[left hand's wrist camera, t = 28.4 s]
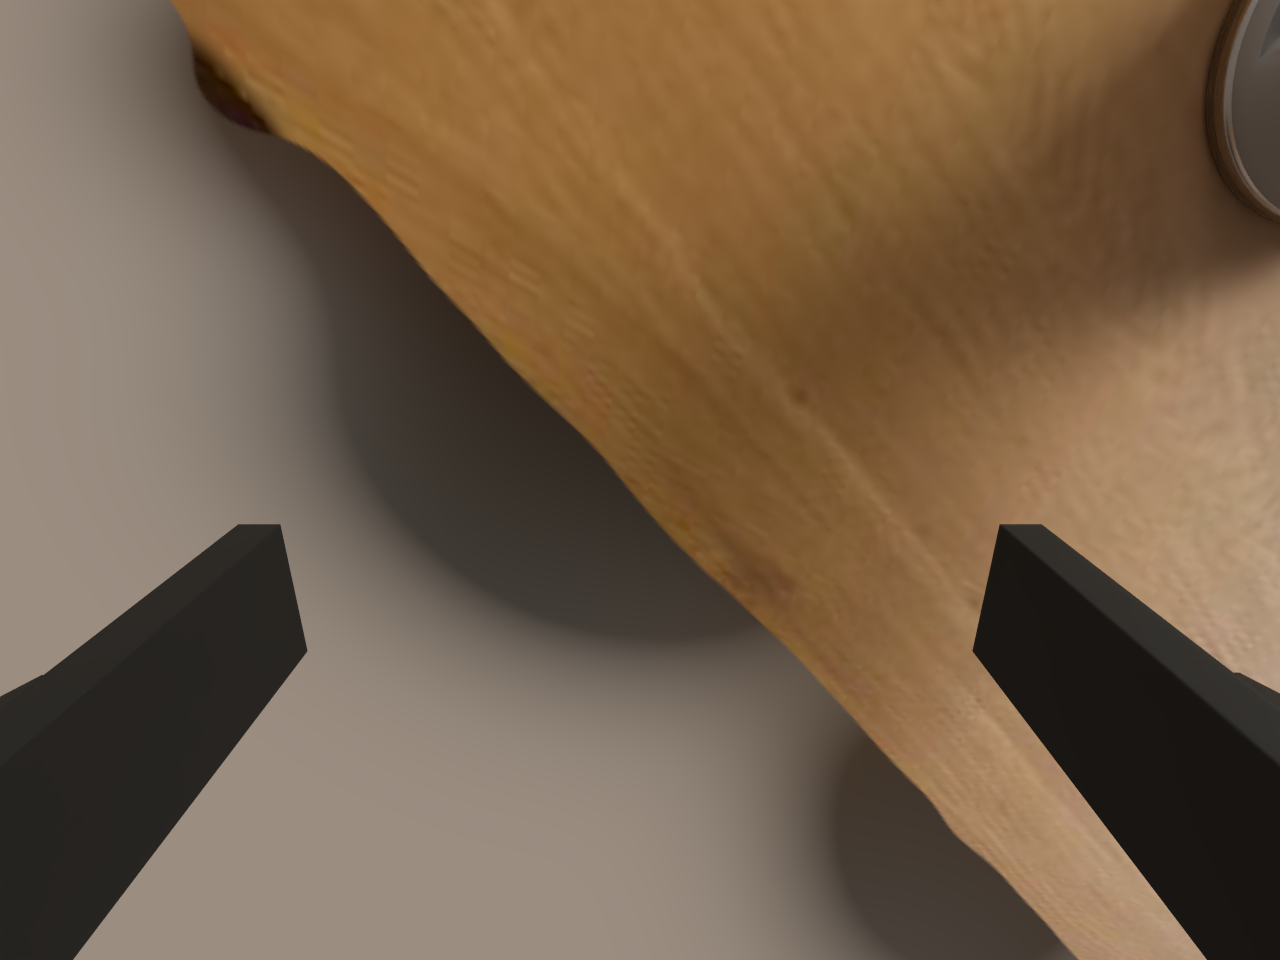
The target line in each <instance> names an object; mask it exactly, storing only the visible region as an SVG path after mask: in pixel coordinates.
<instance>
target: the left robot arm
mask: <svg viewBox="0 0 1280 960" xmlns="http://www.w3.org/2000/svg"><path fill="white" fill-rule="evenodd" d="M1206 123H1207V132H1208V138H1209V143H1210V148H1211V151H1212V154H1213V157H1214V160H1215V163H1216V165H1217V167H1218V170H1219V172H1220V174H1221V176H1222V178H1223V179H1224V181H1225V182H1226V184H1227V185H1228V187H1229V188H1230V189H1231V191H1232V192H1233V193H1234V194H1235V195H1236V196H1237V198H1238V199H1240V200H1241V201H1242V202H1243V203H1244V204H1245V205H1246V206H1247V207H1249V208H1250V209H1252V210H1253V211H1255V212H1256V213H1258V214H1259V215H1261V216H1263V217H1266V218H1268V219H1270V220H1272V221H1275V222H1278V223H1280V0H1235V2H1234V4H1233V6H1232V8H1231V10H1230V12H1229V14H1228V16H1227V19H1226V21H1225V23H1224V26H1223V28H1222V30H1221V33H1220V36H1219V39H1218V42H1217V45H1216V48H1215V51H1214V55H1213V59H1212V63H1211V67H1210V73H1209V79H1208V84H1207V96H1206ZM306 652H307V647H306V642H305V638H304V633H303V628H302V623H301V619H300V614H299V609H298V605H297V600H296V595H295V591H294V586H293V581H292V577H291V572H290V567H289V563H288V558H287V553H286V549H285V544H284V539H283V535H282V530H281V526H280V524H239V525H237V526H236V527H234V528H233V529H232V530H231V531H229V532H228V533H227V534H225V535H224V536H223V537H221V538H220V539H219V540H218V541H216V542H215V543H214V544H212V545H211V546H210V547H209V548H207V549H206V550H205V551H204V552H202V553H201V554H200V555H198V556H197V557H196V558H194V559H193V560H192V561H190V562H189V563H188V564H187V565H185V566H184V567H183V568H181V569H180V570H179V571H178V572H176V573H175V574H174V575H172V576H171V577H170V578H169V579H167V580H166V581H165V582H163V583H162V584H161V585H160V586H158V587H157V588H156V589H154V590H153V591H152V592H150V593H149V594H148V595H147V596H145V597H144V598H143V599H141V600H140V601H139V602H138V603H136V604H135V605H134V606H132V607H131V608H130V609H128V610H127V611H126V612H125V613H123V614H122V615H121V616H119V617H118V618H117V619H116V620H114V621H113V622H112V623H110V624H109V625H108V626H107V627H105V628H104V629H103V630H101V631H100V632H99V633H98V634H96V635H95V636H94V637H92V638H91V639H90V640H88V641H87V642H86V643H85V644H83V645H82V646H81V647H79V648H78V649H77V650H76V651H74V652H73V653H72V654H70V655H69V656H68V657H67V658H65V659H64V660H63V661H61V662H60V663H59V664H57V665H56V666H55V667H54V668H52V669H51V670H50V671H48V672H47V673H46V674H44V675H41V676H39V677H37V678H35V679H33V680H31V681H30V682H28V683H26V684H24V685H22V686H20V687H18V688H16V689H14V690H12V691H10V692H8V693H6V694H4V695H2V696H1V697H0V960H73V959H74V958H75V956H76V955H77V954H78V952H79V951H80V950H81V948H82V947H83V946H84V944H85V943H86V942H87V941H88V939H89V938H90V937H91V935H92V934H93V933H94V931H95V930H96V929H97V927H98V926H99V925H100V923H101V922H102V921H103V919H104V918H105V917H106V916H107V914H108V913H109V912H110V910H111V909H112V908H113V906H114V905H115V904H116V902H117V901H118V900H119V898H120V897H121V896H122V894H123V893H124V892H125V891H126V889H127V888H128V887H129V885H130V884H131V883H132V881H133V880H134V879H135V877H136V876H137V875H138V873H139V872H140V871H141V869H142V868H143V867H144V866H145V864H146V863H147V862H148V860H149V859H150V858H151V856H152V855H153V854H154V852H155V851H156V850H157V848H158V847H159V846H160V844H161V843H162V842H163V840H164V839H165V838H166V837H167V835H168V834H169V833H170V831H171V830H172V829H173V827H174V826H175V825H176V823H177V822H178V821H179V819H180V818H181V817H182V816H183V814H184V813H185V812H186V810H187V809H188V807H189V806H190V805H191V804H192V802H193V801H194V800H195V798H196V797H197V796H198V794H199V793H200V792H201V790H202V789H203V788H204V787H205V785H206V784H207V783H208V781H209V780H210V779H211V777H212V776H213V775H214V773H215V772H216V771H217V769H218V768H219V767H220V766H221V764H222V763H223V762H224V760H225V759H226V758H227V756H228V755H229V754H230V752H231V751H232V750H233V748H234V747H235V746H236V744H237V743H238V742H239V741H240V739H241V738H242V737H243V735H244V734H245V733H246V731H247V730H248V729H249V727H250V726H251V725H252V723H253V722H254V721H255V719H256V718H257V717H258V716H259V714H260V713H261V711H262V710H263V709H264V708H265V706H266V705H267V704H268V702H269V701H270V700H271V698H272V697H273V696H274V694H275V693H276V692H277V690H278V689H279V688H280V687H281V685H282V684H283V683H284V681H285V680H286V679H287V677H288V676H289V675H290V673H291V672H292V671H293V669H294V668H295V667H296V665H297V664H298V663H299V662H300V660H301V659H302V658H303V656H304V655H305V654H306ZM973 652H974V654H975V655H976V656H977V658H978V659H979V660H980V662H981V663H982V664H983V666H984V667H985V668H986V669H987V671H988V672H989V673H990V675H991V676H992V677H993V679H994V680H995V681H996V683H997V684H998V685H999V687H1000V688H1001V689H1002V691H1003V692H1004V693H1005V694H1006V696H1007V697H1008V698H1009V700H1010V701H1011V702H1012V704H1013V705H1014V706H1015V708H1016V709H1017V710H1018V712H1019V713H1020V714H1021V716H1022V717H1023V718H1024V719H1025V721H1026V722H1027V723H1028V725H1029V726H1030V727H1031V729H1032V730H1033V731H1034V733H1035V734H1036V735H1037V737H1038V738H1039V739H1040V741H1041V742H1042V743H1043V744H1044V746H1045V747H1046V748H1047V750H1048V751H1049V752H1050V754H1051V755H1052V756H1053V758H1054V759H1055V760H1056V762H1057V763H1058V764H1059V766H1060V767H1061V768H1062V769H1063V771H1064V772H1065V773H1066V775H1067V776H1068V777H1069V779H1070V780H1071V781H1072V783H1073V784H1074V785H1075V787H1076V788H1077V789H1078V791H1079V792H1080V793H1081V794H1082V796H1083V797H1084V798H1085V800H1086V801H1087V802H1088V804H1089V805H1090V806H1091V808H1092V809H1093V810H1094V812H1095V813H1096V814H1097V816H1098V817H1099V818H1100V819H1101V821H1102V822H1103V823H1104V825H1105V826H1106V827H1107V829H1108V830H1109V831H1110V833H1111V834H1112V835H1113V837H1114V838H1115V839H1116V841H1117V842H1118V843H1119V844H1120V846H1121V847H1122V848H1123V850H1124V851H1125V852H1126V854H1127V855H1128V856H1129V858H1130V859H1131V860H1132V862H1133V863H1134V864H1135V866H1136V867H1137V868H1138V869H1139V871H1140V872H1141V873H1142V875H1143V876H1144V877H1145V879H1146V880H1147V881H1148V883H1149V884H1150V885H1151V887H1152V888H1153V889H1154V891H1155V892H1156V893H1157V894H1158V896H1159V897H1160V898H1161V900H1162V901H1163V902H1164V904H1165V905H1166V906H1167V908H1168V909H1169V910H1170V912H1171V913H1172V914H1173V916H1174V917H1175V918H1176V919H1177V921H1178V922H1179V923H1180V925H1181V926H1182V927H1183V929H1184V930H1185V931H1186V933H1187V934H1188V935H1189V937H1190V938H1191V939H1192V941H1193V942H1194V943H1195V944H1196V946H1197V947H1198V948H1199V950H1200V951H1201V952H1202V954H1203V955H1204V956H1205V958H1206V959H1207V960H1280V693H1278V692H1276V691H1274V690H1272V689H1270V688H1268V687H1266V686H1264V685H1262V684H1260V683H1258V682H1256V681H1254V680H1252V679H1250V678H1249V677H1247V676H1245V675H1243V674H1241V673H1233V672H1232V671H1230V670H1229V669H1228V668H1226V667H1225V666H1224V665H1223V664H1221V663H1220V662H1219V661H1217V660H1216V659H1215V658H1214V657H1212V656H1211V655H1210V654H1208V653H1207V652H1206V651H1204V650H1203V649H1202V648H1201V647H1199V646H1198V645H1197V644H1195V643H1194V642H1193V641H1192V640H1190V639H1189V638H1188V637H1186V636H1185V635H1184V634H1183V633H1181V632H1180V631H1179V630H1177V629H1176V628H1175V627H1173V626H1172V625H1171V624H1170V623H1168V622H1167V621H1166V620H1164V619H1163V618H1162V617H1161V616H1159V615H1158V614H1157V613H1155V612H1154V611H1153V610H1152V609H1150V608H1149V607H1148V606H1146V605H1145V604H1144V603H1142V602H1141V601H1140V600H1139V599H1137V598H1136V597H1135V596H1133V595H1132V594H1131V593H1130V592H1128V591H1127V590H1126V589H1124V588H1123V587H1122V586H1121V585H1119V584H1118V583H1117V582H1115V581H1114V580H1113V579H1111V578H1110V577H1109V576H1108V575H1106V574H1105V573H1104V572H1102V571H1101V570H1100V569H1099V568H1097V567H1096V566H1095V565H1093V564H1092V563H1091V562H1090V561H1088V560H1087V559H1086V558H1084V557H1083V556H1082V555H1080V554H1079V553H1078V552H1077V551H1075V550H1074V549H1073V548H1071V547H1070V546H1069V545H1068V544H1066V543H1065V542H1064V541H1062V540H1061V539H1060V538H1059V537H1057V536H1056V535H1055V534H1053V533H1052V532H1051V531H1049V530H1048V529H1047V528H1046V527H1044V526H1043V525H1042V524H1000V525H999V530H998V535H997V539H996V544H995V549H994V553H993V558H992V563H991V567H990V572H989V577H988V581H987V586H986V591H985V595H984V600H983V605H982V609H981V614H980V619H979V623H978V628H977V633H976V637H975V642H974V647H973Z"/></svg>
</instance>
